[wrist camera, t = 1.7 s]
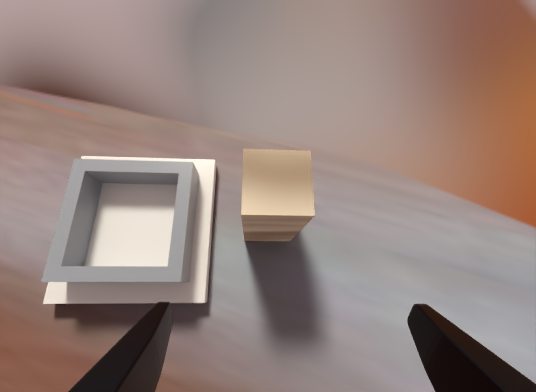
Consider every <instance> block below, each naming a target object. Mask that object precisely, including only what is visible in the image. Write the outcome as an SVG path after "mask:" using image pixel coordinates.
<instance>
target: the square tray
mask: <svg viewBox="0 0 536 392" xmlns="http://www.w3.org/2000/svg"><path fill="white" fill-rule="evenodd" d="M216 168H217V165H216V162H215V160H203V159H169V158H134V157H99V156H81V159H74V162H73V166H72V169H71V173H70V177H69V180H68V184H67V188H66V192H65V195H64V199H63V203H62V206H61V210H60V214H59V217H58V221H57V225H56V229H55V232H54V236H53V240H52V243H51V247H50V251H49V254H48V258H47V262H46V266H45V269H44V273H43V277H42V280H41V282H48V286H47V290H46V294H45V298H44V302H43V304H105V303H158V302H160V301H164V302H170V303H205V302H207V296H208V282H209V268H210V253H211V239H212V225H213V211H214V196H215V182H216Z"/></svg>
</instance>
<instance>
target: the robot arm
mask: <svg viewBox="0 0 536 392" xmlns="http://www.w3.org/2000/svg"><path fill="white" fill-rule="evenodd" d="M172 324H173V314H172V308H171V303H170V302H164V301H160V302H158V303H156V304H155V305H154V306H153V307H152V308H151V309H150V310H149V311H148V312H147V313H146V314H145V315H144V316H143V317H142V318H141V319H140V320H139V321H138V322H137V323H136V324H135V325H134V326H133V327H132V328H131V329H130V330H129V331H128V332H127V333H126V334H125V335H124V336H123V337H122V338H121V339H120V340H119V341H118V342H117V343H116V344H115V345H114V346H113V347H112V348H111V349H110V350H109V351H108V352H107V353H106V354H105V355H104V356H103V357H102V358H101V359H100V360H99V361H98V362H97V363H96V364H95V365H94V366H93V367H92V368H91V369H90V370H89V371H88V372H87V373H86V374H85V375H84V376H83V377H82V378H81V379H80V380H79V381H78V382H77V383H76V384H75V385H74V386H73V387H72V388H71V389H70V390H69V391H68V392H155V390H156V387H157V384H158V381H159V378H160V374H161V371H162V367H163V363H164V359H165V354H166V350H167V346H168V341H169V337H170V333H171V328H172ZM408 326H409V329H410V331H411V334H412V337H413V339H414V342H415V345H416V348H417V350H418V353H419V356H420V358H421V361H422V363H423V366H424V368H425V371H426V373H427V375H428V377H429V379H430V381H431V383H432V385H433V388H434V390H435V392H536V384H535V383H534V382H532V381H531V380H529V379H528V378H527V377H525V376H524V375H523V374H521V373H520V372H518V371H517V370H516V369H514V368H513V367H512V366H510V365H509V364H508V363H506V362H505V361H503V360H502V359H501V358H499V357H498V356H497V355H495V354H494V353H493V352H491V351H490V350H488V349H487V348H486V347H484V346H483V345H482V344H480V343H479V342H477V341H476V340H475V339H473V338H472V337H471V336H469V335H468V334H467V333H465V332H464V331H462V330H461V329H460V328H458V327H457V326H456V325H454V324H453V323H452V322H450V321H449V320H447V319H446V318H445V317H443V316H442V315H441V314H439V313H438V312H436V311H435V310H434V309H432V308H431V307H430V306H428V305H426V304H414V305H413V307H412V309H411V312H410V314H409V316H408Z"/></svg>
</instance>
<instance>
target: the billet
mask: <svg viewBox="0 0 536 392" xmlns="http://www.w3.org/2000/svg"><path fill="white" fill-rule="evenodd" d="M241 216H242V224H243V232H244V240H245V241H291V240H292V239H293V238H294V237H295V236H296V235H297V234H298V233H299V232H300V231H301V230H302V228H303V227H304V226H305V225H306V224H307V223H308V222H309V221H310V220H311V219H312V218H313V217H314V216H315V213H314V197H313V181H312V165H311V151H299V150H268V149H243V178H242V208H241Z"/></svg>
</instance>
